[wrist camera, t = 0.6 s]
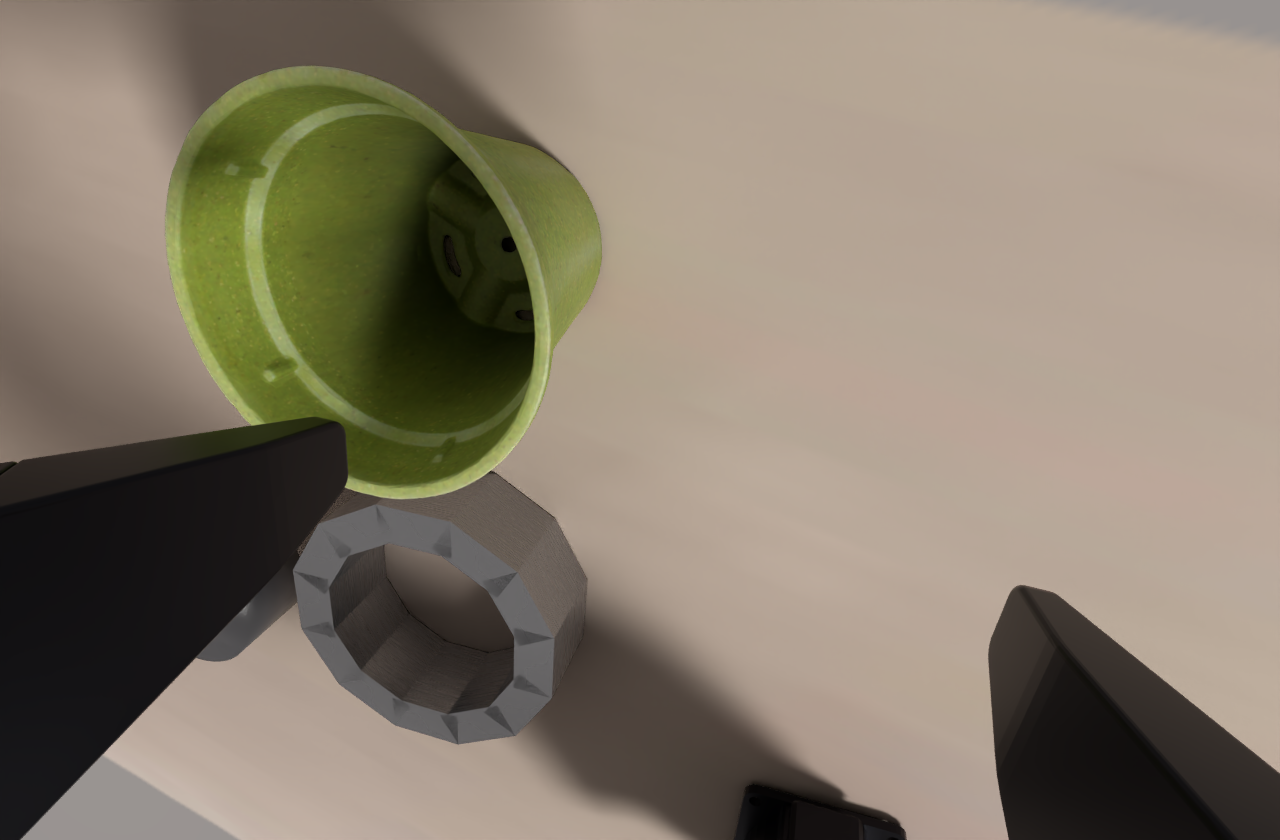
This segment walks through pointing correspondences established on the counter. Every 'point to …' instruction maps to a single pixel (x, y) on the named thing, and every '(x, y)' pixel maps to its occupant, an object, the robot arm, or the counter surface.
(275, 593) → the cap
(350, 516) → the ring mount
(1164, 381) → the counter surface
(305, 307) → the plant pot
